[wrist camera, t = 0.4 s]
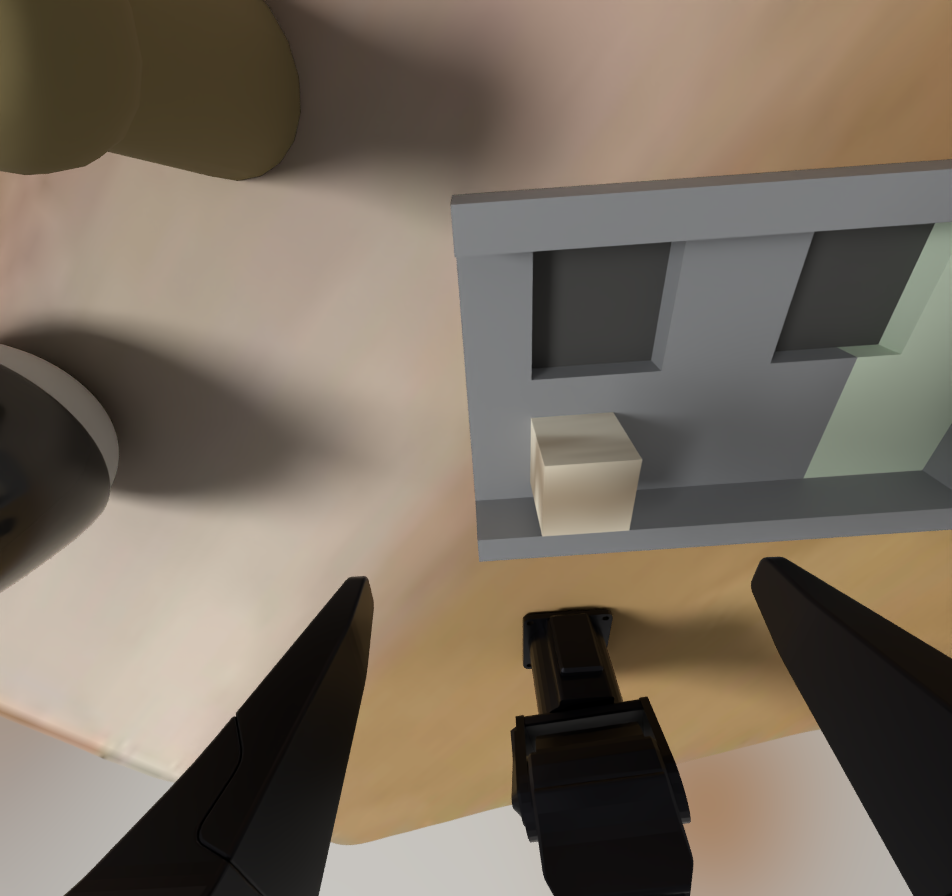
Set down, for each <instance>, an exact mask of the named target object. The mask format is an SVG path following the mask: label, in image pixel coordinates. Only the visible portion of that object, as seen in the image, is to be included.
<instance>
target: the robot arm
mask: <svg viewBox="0 0 952 896" xmlns="http://www.w3.org/2000/svg"><path fill="white" fill-rule="evenodd" d="M751 589H752V593H753V595H754V597H755V600H756V602H757V604H758V607H759V609H760V611H761V613H762V616H763V618H764V620H765V623H766V625H767V627H768V630H769V632H770V634H771V636H772V639H773V641H774V643H775V646H776V648H777V650H778V652H779V654H780V656H781V658H782V660H783V662H784V664H785V666H786V668H787V670H788V671H789V673H790V675H791V677H792V678H793V680H794V682H795V684H796V686H797V687H798V689H799V691H800V693H801V695H802V696H803V698H804V700H805V702H806V704H807V705H808V707H809V709H810V711H811V713H812V714H813V716H814V718H815V720H816V722H817V723H818V725H819V727H820V729H821V731H822V732H823V734H824V736H825V738H826V740H827V741H828V743H829V745H830V747H831V748H832V750H833V752H834V754H835V756H836V757H837V759H838V761H839V763H840V764H841V767H842V768H843V770H844V772H845V774H846V776H847V777H848V779H849V781H850V782H851V784H852V786H853V788H854V790H855V792H856V794H857V795H858V797H859V799H860V801H861V802H862V804H863V806H864V808H865V810H866V811H867V813H868V815H869V817H870V819H871V820H872V822H873V824H874V826H875V828H876V829H877V831H878V833H879V835H880V836H881V838H882V840H883V842H884V844H885V846H886V847H887V849H888V851H889V853H890V855H891V856H892V858H893V860H894V862H895V864H896V865H897V867H898V869H899V871H900V873H901V874H902V876H903V878H904V880H905V882H906V883H907V885H908V887H909V889H910V891H911V892H912V894H913V896H952V658H950V657H948V656H947V655H945V654H943V653H942V652H940V651H938V650H937V649H935V648H933V647H932V646H930V645H928V644H927V643H925V642H923V641H922V640H920V639H918V638H917V637H915V636H913V635H912V634H910V633H908V632H907V631H905V630H903V629H902V628H900V627H898V626H897V625H895V624H894V623H892V622H890V621H889V620H887V619H885V618H884V617H882V616H880V615H879V614H877V613H875V612H874V611H872V610H870V609H869V608H867V607H865V606H864V605H862V604H860V603H859V602H857V601H855V600H854V599H852V598H850V597H849V596H847V595H845V594H844V593H842V592H840V591H839V590H837V589H835V588H834V587H832V586H830V585H829V584H827V583H826V582H824V581H822V580H821V579H819V578H817V577H816V576H814V575H812V574H811V573H809V572H807V571H806V570H804V569H802V568H801V567H799V566H797V565H796V564H794V563H792V562H791V561H789V560H787V559H785V558H783V557H765V558H763V559H762V560H761V561H760V563H759V565H758V567H757V569H756V572H755V574H754V576H753V579H752V581H751ZM373 611H374V602H373V597H372V592H371V588H370V584H369V580H368V578H367V577H365V576H358V577H349V578H348V579H347V580H346V581H345V582H344V583H343V584H342V586H341V587H340V588H339V589H338V591H337V592H336V593H335V594H334V595H333V597H332V598H331V599H330V600H329V601H328V603H327V604H326V605H325V606H324V607H323V609H322V610H321V611H320V612H319V613H318V615H317V616H316V617H315V618H314V619H313V621H312V622H311V623H310V624H309V626H308V627H307V628H306V629H305V630H304V632H303V633H302V634H301V635H300V636H299V638H298V639H297V640H296V641H295V642H294V644H293V645H292V646H291V647H290V648H289V650H288V651H287V652H286V653H285V654H284V656H283V657H282V658H281V659H280V661H279V662H278V663H277V664H276V665H275V667H274V668H273V669H272V670H271V671H270V673H269V674H268V675H267V676H266V677H265V679H264V680H263V681H262V682H261V683H260V685H259V686H258V687H257V688H256V689H255V691H254V692H253V693H252V694H251V696H250V697H249V698H248V699H247V700H246V702H245V703H244V704H243V705H242V706H241V708H240V709H239V710H238V711H237V712H236V717H235V716H234V717H232V718H231V719H230V721H229V722H228V723H227V724H226V725H225V727H224V728H223V729H222V730H221V731H220V733H219V734H218V735H217V736H216V737H215V739H214V740H213V741H212V742H211V743H210V744H209V746H208V747H207V748H206V749H205V750H204V751H203V752H202V754H201V755H200V756H199V757H198V758H197V759H196V761H195V762H194V763H193V764H192V765H191V766H190V767H189V768H188V769H187V770H186V771H185V773H184V774H183V775H182V776H181V777H180V778H179V779H178V780H177V781H176V782H175V783H174V784H173V786H172V787H171V788H170V789H169V790H168V791H167V792H166V793H165V794H164V795H163V796H162V797H161V798H160V799H159V800H158V801H157V802H156V803H155V804H154V806H152V808H151V809H150V810H149V811H148V812H147V813H146V814H145V815H144V816H143V817H142V818H141V819H140V820H139V821H138V822H137V823H136V824H135V825H134V826H133V827H132V828H131V829H130V830H129V832H127V834H126V835H125V836H124V837H123V838H122V839H121V840H120V841H119V842H118V843H117V844H116V845H115V846H114V847H113V848H112V849H111V850H110V851H109V852H108V853H107V854H106V855H105V856H104V858H102V860H101V861H100V862H99V863H98V864H97V865H96V866H95V867H94V868H93V869H92V870H91V871H90V872H89V873H88V874H87V875H86V876H85V877H84V878H83V879H82V880H81V881H79V882H78V883H77V884H76V885H75V886H74V887H73V888H72V889H71V890H70V891H68V892H67V893H66V894H65V895H64V896H318V895H319V891H320V886H321V882H322V878H323V873H324V868H325V863H326V859H327V855H328V850H329V846H330V841H331V837H332V832H333V827H334V823H335V818H336V814H337V809H338V805H339V800H340V796H341V791H342V786H343V782H344V777H345V773H346V768H347V764H348V759H349V755H350V750H351V745H352V741H353V736H354V732H355V727H356V723H357V718H358V714H359V709H360V704H361V700H362V695H363V691H364V686H365V681H366V675H367V667H368V658H369V648H370V639H371V630H372V620H373ZM612 618H613V617H612V614H611V611H610V610H607V609H603V610H588V611H573V612H558V613H544V614H529V615H526V616H524V617H523V666H524V668H526V669H532V672H533V679H534V686H535V693H536V699H537V706H538V713H539V714H538V715H532V716H525V717H524V715H521V716H516V727H515V728H514V729H512V730H511V742H512V754H513V771H512V805H513V809H514V810H515V811H516V812H517V813H518V814H519V815H520V816H521V817H522V821H523V825H524V826H525V827H526V832H527V836H528V839H529V841H530V842H537V841H538V842H539V849H540V856H541V863H542V871H543V875H544V878H545V881H546V883H547V884H548V886H549V888H550V890H551V892H552V893H553V895H554V896H690V891H691V882H692V873H693V857H692V853H691V849H690V846H689V843H688V840H687V836H686V833H685V830H684V827H683V824H685V823H690V822H691V818H690V811H689V806H688V802H687V798H686V794H685V791H684V787H683V784H682V781H681V778H680V774H679V771H678V769H677V766H676V763H675V761H674V758H673V756H672V753H671V751H670V748H669V746H668V744H667V741H666V739H665V737H664V734H663V732H662V730H661V727H660V725H659V723H658V720H657V718H656V715H655V713H654V711H653V708H652V706H651V704H650V701H649V699H648V697H641V698H639V699H638V700H632V701H625V702H623V699H622V696H621V693H620V690H619V686H618V683H617V680H616V676H615V673H614V670H613V667H612V663H611V660H610V657H609V653H608V650H607V645H608V640H609V635H610V629H611V624H612Z"/></svg>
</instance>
